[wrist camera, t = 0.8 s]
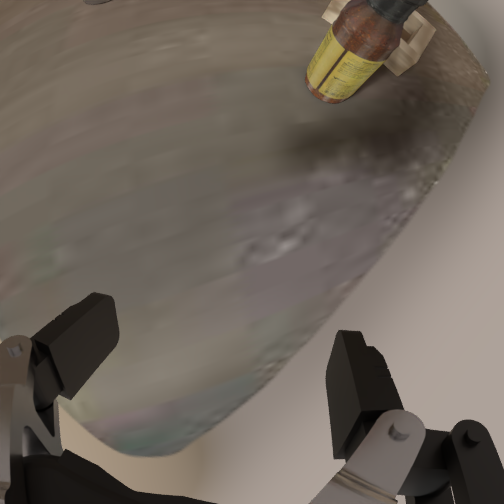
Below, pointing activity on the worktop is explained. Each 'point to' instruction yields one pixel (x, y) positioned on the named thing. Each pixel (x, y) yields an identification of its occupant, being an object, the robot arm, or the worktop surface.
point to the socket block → (411, 41)
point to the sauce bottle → (357, 46)
